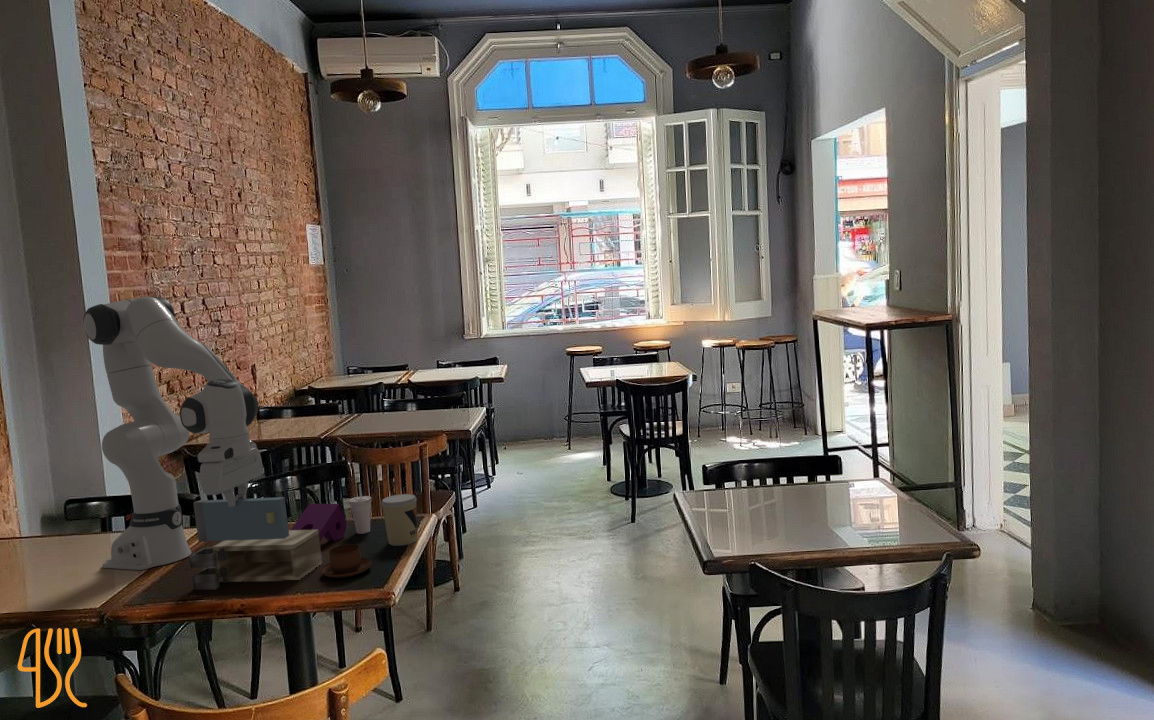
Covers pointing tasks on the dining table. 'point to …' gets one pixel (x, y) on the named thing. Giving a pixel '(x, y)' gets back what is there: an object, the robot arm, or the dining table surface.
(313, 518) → the mounting bracket
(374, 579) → the dining table surface
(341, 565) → the cup and saucer
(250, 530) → the door
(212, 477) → the robot arm
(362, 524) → the smoothie
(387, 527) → the coffee cup
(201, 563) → the cabinet
